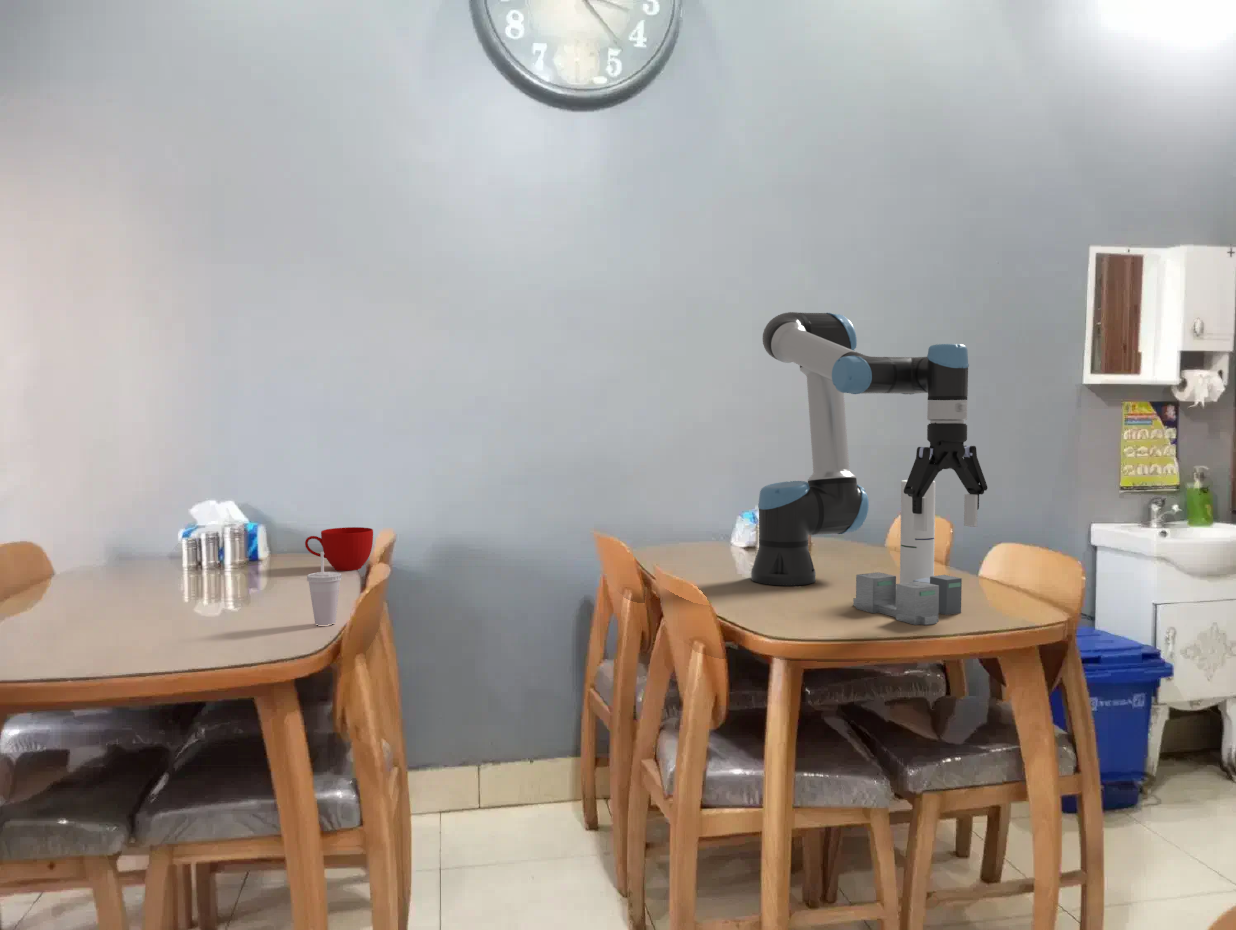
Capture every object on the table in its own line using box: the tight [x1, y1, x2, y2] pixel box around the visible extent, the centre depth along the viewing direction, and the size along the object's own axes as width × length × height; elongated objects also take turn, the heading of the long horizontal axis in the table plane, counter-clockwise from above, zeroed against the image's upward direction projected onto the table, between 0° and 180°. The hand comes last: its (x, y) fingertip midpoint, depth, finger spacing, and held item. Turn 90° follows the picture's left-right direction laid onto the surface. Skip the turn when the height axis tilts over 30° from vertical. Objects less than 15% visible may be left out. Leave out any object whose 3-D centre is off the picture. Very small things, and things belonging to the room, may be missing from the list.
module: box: [930, 574, 963, 616], centre depth 188 cm, size 5×4×7 cm
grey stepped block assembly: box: [852, 571, 940, 626], centre depth 186 cm, size 20×6×7 cm, turn 27°
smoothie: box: [306, 551, 342, 625], centre depth 179 cm, size 6×6×14 cm
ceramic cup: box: [304, 526, 374, 572], centre depth 241 cm, size 13×17×10 cm
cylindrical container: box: [899, 479, 936, 584], centre depth 205 cm, size 7×7×25 cm
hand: (945, 528), depth 187 cm, fingers open, 13 cm apart
